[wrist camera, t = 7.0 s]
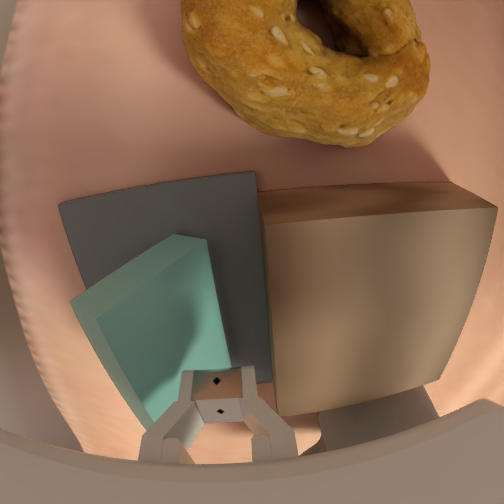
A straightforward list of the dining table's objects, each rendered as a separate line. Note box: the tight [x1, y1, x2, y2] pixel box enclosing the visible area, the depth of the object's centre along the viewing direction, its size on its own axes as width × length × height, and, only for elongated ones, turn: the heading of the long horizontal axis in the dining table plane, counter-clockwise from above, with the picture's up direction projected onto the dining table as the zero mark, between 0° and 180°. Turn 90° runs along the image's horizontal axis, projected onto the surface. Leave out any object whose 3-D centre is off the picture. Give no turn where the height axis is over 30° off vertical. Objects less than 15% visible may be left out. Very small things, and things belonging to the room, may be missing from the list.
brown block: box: [257, 182, 498, 417], centre depth 15 cm, size 11×12×4 cm
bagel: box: [181, 0, 430, 148], centre depth 8 cm, size 10×11×5 cm
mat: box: [58, 171, 272, 384], centre depth 16 cm, size 10×14×1 cm
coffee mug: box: [299, 385, 439, 457], centre depth 19 cm, size 13×10×10 cm
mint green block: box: [70, 234, 232, 430], centre depth 13 cm, size 6×9×2 cm
